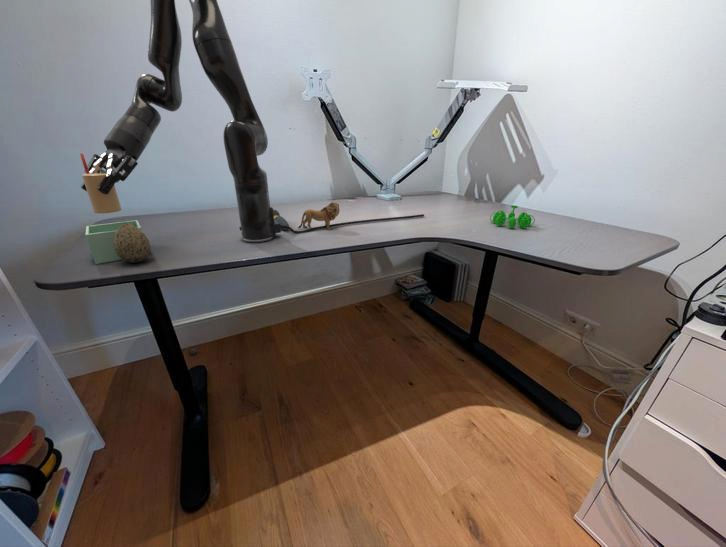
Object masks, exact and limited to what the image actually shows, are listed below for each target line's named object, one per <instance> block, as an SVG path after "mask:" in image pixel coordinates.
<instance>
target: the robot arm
mask: <svg viewBox="0 0 726 547" xmlns="http://www.w3.org/2000/svg"><path fill="white" fill-rule="evenodd" d="M188 2H189V4H190V8H191V11H192V28H191V31H192V32H191V34H192V36H191V38H192V43H193V46H194V49H195V52H196V55H197V57H198V59H199V62H200V65H201V68H202V70H203V71H204V74H205V76H206V77H207V78H208V80H209V82H210V83H211V84H212V86H213V87H214V88H215V90H216V91H217V93H219V95H220V96H221V97H222V99H223V100H224V102H225V104H226V105H227V108H229V112H230V113H231V115H232V116H231V117H232V118H233V120H231V121H229V122H228V123H227V124H226V125H225V126H224V129H223V137H222V138H223V146H224V150H225V156H226V161H227V166H228V170H229V172H230V173H231V175H232V179H233V184H234V190H235V197H236V203H237V204H236V205H237V210H238V218H239V223H240V226H238V228H239V231H241V236H242V237H241V239H242V241H243V242H247V243H265V242H269V241H271V240H273V239H277V234H279V233H282V229H281V228H286V229H288V230H289V231H290V232H291V233H293V234H305V233H309V232H312V231H316V230H322V229H323V230H324V229H327V225H326V226H325V225H321V226H315V227H311V228H310V229H309V228H307V229H303V230H295V229H293V228H292V227H291V226H290V225H289V226H284V225H280V223H279V222H277V221H276V220H274V214H273V209H274V208H273V207H272V206H271V201H270V193H269V184H268V183H269V182H268V175H267V172H266V170H264V169H263V168H261V166H260V164H259V161H258V156H259V157H260V156H262V155H264V153H266V151H267V149H268V144H269V140H268V134H267V132H266V128H265V126H264V124H263V122H262V120H261V117H260V116H259V113H258V111H257V109H256V107H255V104H254V103H253V100H252V97H251V94H250V92H249V88H248V86H247V83H246V80H245V78H244V74H243V72H242V69H241V67H240V66H241V65H240V62H239V60H238V56H237V54H236V51H235V48H234V45H233V42H232V39H231V37H230V34H229V32H228V29H227V26H226V23H225V20H224V17H223V14H222V10H221V9H220V6H219V3H218V0H188ZM149 30H150V31H149V38H148V49H147V60H148V62H149V63H150V64H151V65H152V66H153V67H155V69H157V70H159V72H161V75H162V77H163V79H162V78H160V77H158V76H155V75H154V74H150V73H145V74H141V75H140V76H139V77H138V78H137V80H136V84H135V89H134V93H133V97H132V100H131V104H130V105H129V107H127V110H126V111H125V112H124V114H122V116H121V117H120V118H119V119H118V120H117V121H116V123H115V124H114V125H113V127H112V129H111V130H110V131H109V132H108V133H107V136H105V138H104V139H103V144H104V147H106V150H105V151H104V152H103V153H101V155H99V154H98V153H94V154H93V155H92V157H91V158H90V160H89V162H88V163H87V167H88V170H89V174H93V173H107V174H106V176H107V177H104V179H103V180H102V182H101V183H100V185H99V186H98V188H97V190H98V191H100V192H101V193H103V194H108V193H109V192H110V190H111V189H112V187H113V186H114V185H115V184H117V183H119V182H120V181H122V182H124V181H126V179H128V177H129V176H130V175H131V174H132V173H133V171H134V170H135V168H136V167H137V166H138V164H139V163H138V162H137V161H138V160H139V158H140V157H141V155H142V154H143V152H144V150H145V149H146V148H147V146H148V144H149V143H150V141H151V139H152V137H153V134H154V133H155V131H156V130H157V128H158V127H159V125H160V124H161V121H162V115H161V114H160V112H159V111H158V110H157V109H156V108H155V107H154V106H156V107H159V108H161V109H164V110H166V111H169V112H172V113H173V112H176V111H178V110H179V109H180V108H181V106H182V103H183V91H182V84H181V76H180V62H181V55H182V48H183V47H182V44H183V39H182V37H183V36H182V31H181V30H182V29H181V25H180V21H179V17H178V12H177V7H176V0H150V28H149ZM152 105H154V106H152ZM83 171H84V174H86V171H85V170H83ZM80 188H81V189H82V190H83V191H85V192H87V189H86V186H85V183H84V182H82V184H81V185H80ZM422 217H425V214H424V213H423V214H422V213H421V214H414V215H404V216H394V217H384V218H381V217H380V218H371V219H363V220H362V219H361V220H354V221H353V220H352V221H346V222H339V223H332V224H331V223H330V225H329V227H330V228H333V227H341V226H347V225H355V224H363V223H372V222H373V223H374V222H383V221H394V220H404V219H414V218H415V219H416V218H422Z"/></svg>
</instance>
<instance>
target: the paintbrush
mask: <svg viewBox="0 0 726 547" xmlns="http://www.w3.org/2000/svg"><path fill="white" fill-rule="evenodd" d="M273 214H274V220H276V221H277V222H279V223H280V225H284V226H289V227H290V225H289V223H288V221H287V220H286V218H284V216H283V217H282V216H281V214H280V212H279V210H277V209H274V208H273ZM281 230H284V231H288V230H289V229H286V228H281Z"/></svg>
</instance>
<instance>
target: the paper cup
mask: <svg viewBox="0 0 726 547" xmlns="http://www.w3.org/2000/svg"><path fill="white" fill-rule="evenodd" d="M79 156H80V159H81V161H82V165H83V168H84V171H86V173H83V174H82V175H81V177H82V180H83V183H85V186H86V189H87V191H86V193H87V196H88V199H89V202H90V204H91V207H92V210H93V213H94V214H112V213H117V212H122V206H121V203H120V199H119V196H118V192H117V189H116V185H115V184H114V186H113V187H112V189H111V190H110V192H109V193H108V194H103V193H101V192H100V191H98V190H97V188H98V186H99V185H100V183H101V182H102V180H103V179H104V177H107V176H106V174H107V173H101V172H100V173H93V174H89V170H88V167H87V166H88V163H87V162H86V159H85V155H84V153H79Z"/></svg>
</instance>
